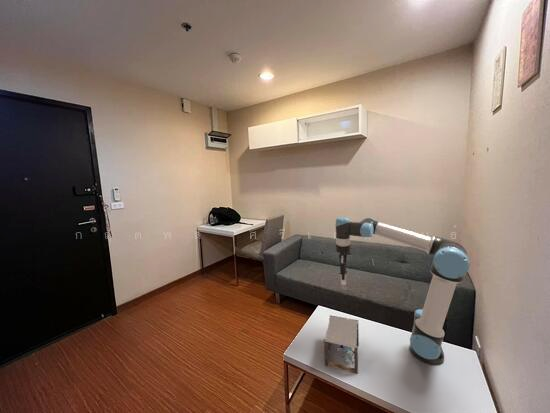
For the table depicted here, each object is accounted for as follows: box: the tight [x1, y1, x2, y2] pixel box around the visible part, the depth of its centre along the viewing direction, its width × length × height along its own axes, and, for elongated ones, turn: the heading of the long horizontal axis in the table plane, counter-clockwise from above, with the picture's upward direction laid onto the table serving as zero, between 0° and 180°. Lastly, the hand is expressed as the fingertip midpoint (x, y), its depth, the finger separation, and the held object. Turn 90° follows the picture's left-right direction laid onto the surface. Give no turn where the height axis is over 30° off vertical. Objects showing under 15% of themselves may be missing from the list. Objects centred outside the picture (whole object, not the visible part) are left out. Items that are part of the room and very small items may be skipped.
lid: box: [324, 315, 359, 349], centre depth 120 cm, size 16×22×1 cm
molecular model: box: [337, 345, 354, 364], centre depth 119 cm, size 12×10×10 cm
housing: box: [323, 317, 360, 375], centre depth 120 cm, size 16×20×14 cm
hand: (343, 284), depth 128 cm, fingers closed
